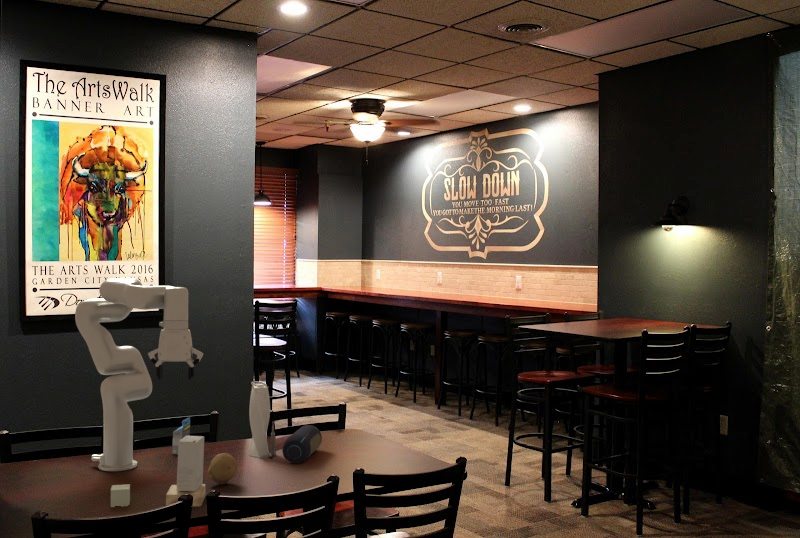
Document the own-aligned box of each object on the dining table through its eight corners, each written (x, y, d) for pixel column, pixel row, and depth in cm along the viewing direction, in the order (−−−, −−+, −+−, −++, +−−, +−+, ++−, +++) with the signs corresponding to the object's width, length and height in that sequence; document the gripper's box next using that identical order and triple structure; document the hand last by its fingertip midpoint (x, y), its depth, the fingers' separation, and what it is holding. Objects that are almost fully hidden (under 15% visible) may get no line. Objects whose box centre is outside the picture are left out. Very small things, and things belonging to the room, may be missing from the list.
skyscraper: (260, 460, 282) (261, 382, 282) (243, 457, 286) (244, 380, 286) (276, 455, 289) (277, 379, 289) (259, 452, 293) (260, 377, 293)
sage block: (110, 507, 227) (110, 490, 227) (112, 502, 232) (112, 485, 232) (128, 506, 228) (129, 489, 228) (129, 501, 233) (130, 484, 233)
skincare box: (184, 484, 238) (185, 435, 238) (203, 484, 238) (204, 435, 238) (175, 491, 230) (176, 440, 230) (196, 491, 230) (197, 440, 230)
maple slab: (165, 508, 228) (165, 494, 228) (171, 498, 238) (171, 484, 238) (201, 507, 229) (201, 493, 229) (205, 497, 239) (205, 484, 239)
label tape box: (179, 448, 296) (179, 416, 296) (190, 448, 296) (190, 416, 296) (171, 454, 288) (172, 421, 287) (182, 454, 287) (183, 421, 287)
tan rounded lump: (243, 485, 250) (243, 453, 250) (218, 490, 244) (219, 458, 244) (227, 479, 257) (228, 448, 257) (203, 484, 251) (203, 453, 251)
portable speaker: (307, 466, 274) (307, 438, 273) (279, 465, 275) (280, 436, 275) (323, 449, 298) (324, 423, 298) (298, 448, 300) (298, 422, 300)
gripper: (145, 326, 247) (144, 380, 248) (200, 327, 248) (199, 381, 248) (152, 324, 255) (151, 377, 255) (205, 324, 255) (205, 377, 256)
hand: (175, 378), depth 252 cm, fingers open, 9 cm apart
